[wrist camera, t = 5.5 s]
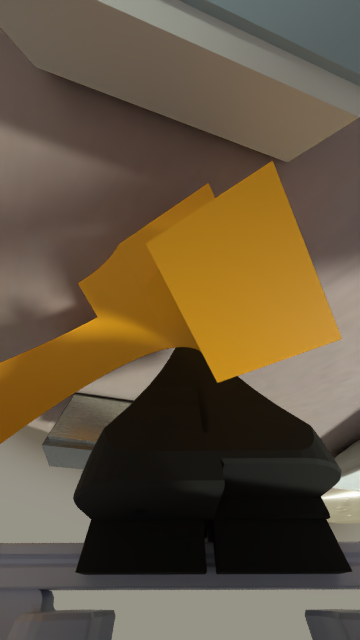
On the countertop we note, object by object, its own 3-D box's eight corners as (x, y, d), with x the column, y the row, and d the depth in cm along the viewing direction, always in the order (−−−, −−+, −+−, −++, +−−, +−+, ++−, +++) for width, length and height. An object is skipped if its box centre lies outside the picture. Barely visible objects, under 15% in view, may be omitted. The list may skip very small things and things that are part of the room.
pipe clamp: (207, 222, 8) (211, 4, 2) (242, 299, 9) (342, 338, 2) (47, 322, 11) (-167, 371, 5) (80, 375, 11) (-71, 484, 5)
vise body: (181, 406, 16) (182, 457, 12) (172, 428, 17) (170, 477, 14) (74, 390, 14) (40, 442, 11) (77, 415, 16) (49, 465, 13)
